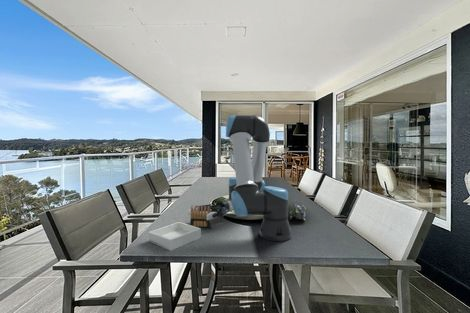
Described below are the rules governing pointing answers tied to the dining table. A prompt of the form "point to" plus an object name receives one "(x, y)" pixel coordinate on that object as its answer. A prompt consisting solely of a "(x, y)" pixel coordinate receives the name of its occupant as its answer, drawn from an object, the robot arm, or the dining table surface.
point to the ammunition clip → (200, 218)
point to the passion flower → (298, 211)
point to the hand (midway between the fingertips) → (197, 215)
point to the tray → (174, 235)
